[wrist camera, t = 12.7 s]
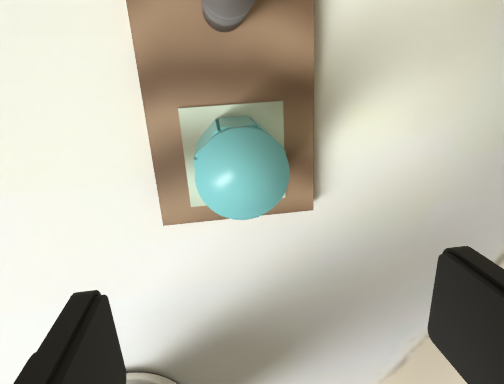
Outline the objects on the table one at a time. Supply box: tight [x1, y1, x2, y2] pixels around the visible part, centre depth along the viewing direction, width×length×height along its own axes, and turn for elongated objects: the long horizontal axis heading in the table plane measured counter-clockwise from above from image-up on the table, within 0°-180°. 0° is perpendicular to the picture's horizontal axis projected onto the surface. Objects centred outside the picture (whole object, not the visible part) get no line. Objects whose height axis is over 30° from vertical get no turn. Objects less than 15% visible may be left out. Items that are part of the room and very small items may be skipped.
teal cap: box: [194, 115, 290, 220], centre depth 24 cm, size 6×6×6 cm
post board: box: [126, 0, 314, 226], centre depth 22 cm, size 22×13×8 cm, turn 3°
